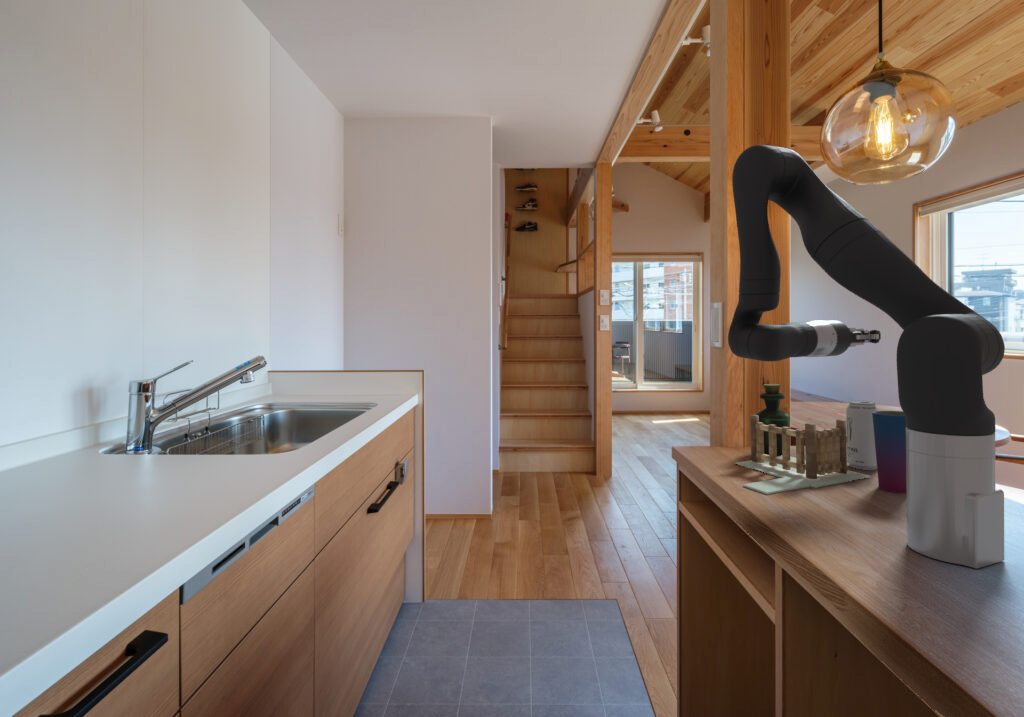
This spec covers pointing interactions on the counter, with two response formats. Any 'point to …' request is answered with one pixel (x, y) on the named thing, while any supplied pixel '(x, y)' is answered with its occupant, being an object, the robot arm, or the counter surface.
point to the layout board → (794, 478)
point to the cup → (890, 449)
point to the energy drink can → (861, 435)
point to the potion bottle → (773, 415)
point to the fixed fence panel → (825, 449)
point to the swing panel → (786, 432)
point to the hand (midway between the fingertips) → (876, 335)
